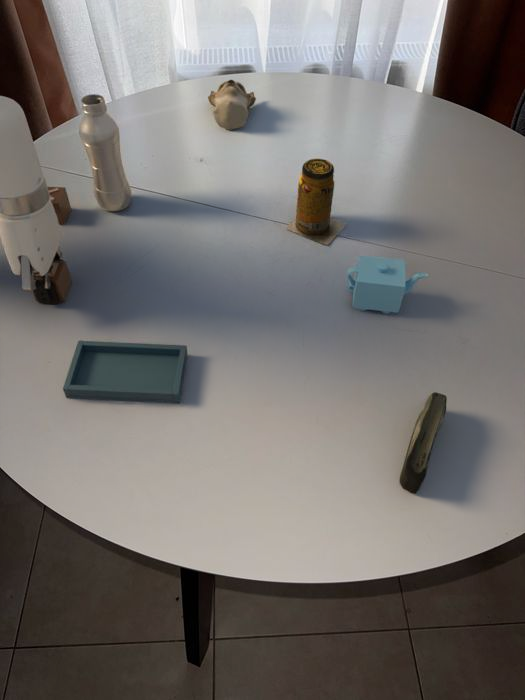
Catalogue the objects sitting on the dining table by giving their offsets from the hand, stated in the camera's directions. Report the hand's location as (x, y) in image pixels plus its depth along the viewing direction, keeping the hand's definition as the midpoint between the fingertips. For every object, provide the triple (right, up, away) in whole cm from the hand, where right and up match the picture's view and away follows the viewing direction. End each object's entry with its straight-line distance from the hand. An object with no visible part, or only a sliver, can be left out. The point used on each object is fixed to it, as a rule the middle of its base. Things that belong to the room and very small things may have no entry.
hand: (53, 289), depth 92 cm
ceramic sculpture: (+26, +42, +36) cm, 61 cm away
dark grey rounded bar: (+54, -22, -16) cm, 60 cm away
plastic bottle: (+6, +17, +15) cm, 24 cm away
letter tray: (+14, -13, -10) cm, 22 cm away
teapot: (+52, -2, 0) cm, 52 cm away
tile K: (-4, +15, +12) cm, 20 cm away
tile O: (0, 0, 0) cm, 0 cm away
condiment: (+43, +12, +12) cm, 46 cm away
